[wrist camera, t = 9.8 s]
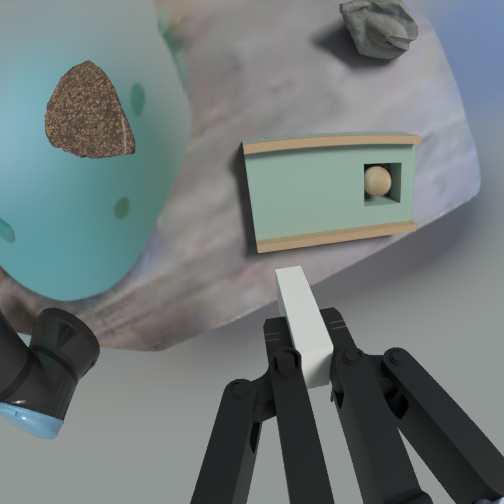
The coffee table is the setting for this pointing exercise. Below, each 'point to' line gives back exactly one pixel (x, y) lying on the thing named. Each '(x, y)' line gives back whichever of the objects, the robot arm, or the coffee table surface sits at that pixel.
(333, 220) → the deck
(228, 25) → the coffee table surface
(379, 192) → the ball
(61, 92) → the rock
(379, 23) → the fossil
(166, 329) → the coffee table surface
